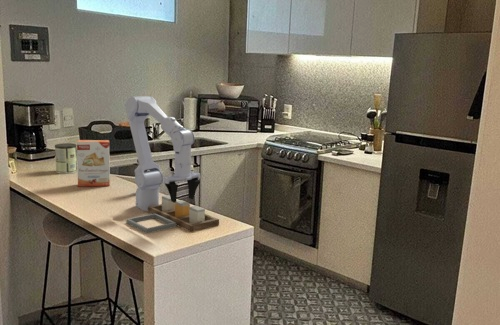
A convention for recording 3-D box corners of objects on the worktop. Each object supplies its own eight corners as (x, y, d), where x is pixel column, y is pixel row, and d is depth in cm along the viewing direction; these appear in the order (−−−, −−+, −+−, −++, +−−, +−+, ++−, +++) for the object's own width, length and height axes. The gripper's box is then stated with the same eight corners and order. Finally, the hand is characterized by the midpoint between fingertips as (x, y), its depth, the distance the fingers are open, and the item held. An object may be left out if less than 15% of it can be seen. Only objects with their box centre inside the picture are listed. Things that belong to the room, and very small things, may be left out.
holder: (148, 213, 182) (147, 206, 181) (174, 208, 190) (174, 201, 189) (191, 233, 162) (191, 225, 161) (219, 227, 170) (219, 219, 169)
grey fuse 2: (189, 223, 170) (189, 207, 169) (196, 221, 172) (196, 205, 171) (197, 227, 166) (197, 210, 165) (204, 225, 168) (204, 208, 167)
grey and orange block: (175, 217, 176) (175, 201, 175) (181, 215, 178) (181, 200, 177) (182, 220, 173) (182, 204, 172) (189, 219, 175) (189, 203, 174)
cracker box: (77, 187, 217) (76, 141, 213) (78, 184, 223) (77, 139, 219) (110, 186, 221) (109, 141, 217) (110, 183, 227) (109, 139, 223)
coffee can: (61, 169, 254) (60, 142, 251) (80, 170, 253) (79, 143, 250) (52, 173, 244) (50, 145, 241) (71, 174, 243) (70, 146, 240)
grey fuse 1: (161, 211, 183) (161, 196, 182) (168, 210, 185) (168, 194, 184) (169, 214, 179) (169, 199, 178) (175, 213, 181) (175, 197, 180)
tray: (126, 225, 168) (126, 219, 168) (155, 219, 176) (155, 213, 175) (146, 235, 158) (146, 229, 158) (176, 228, 166) (176, 222, 166)
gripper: (171, 167, 164) (171, 205, 167) (205, 163, 174) (205, 199, 176) (160, 164, 169) (160, 201, 172) (194, 160, 179) (193, 195, 181)
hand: (182, 200), depth 174 cm, fingers open, 7 cm apart
